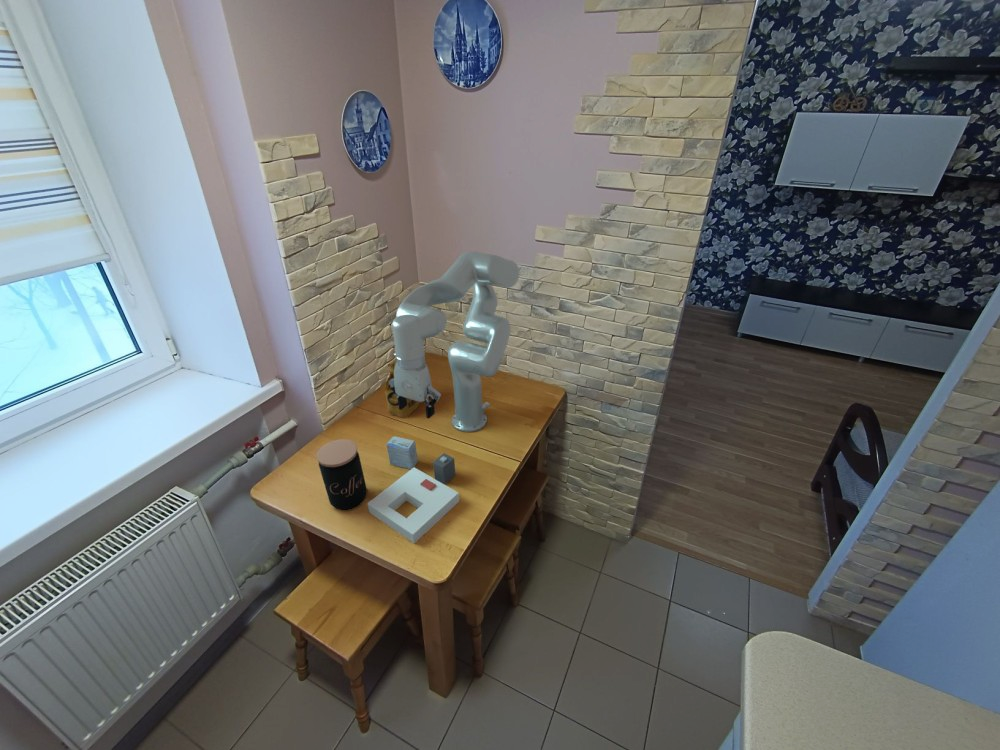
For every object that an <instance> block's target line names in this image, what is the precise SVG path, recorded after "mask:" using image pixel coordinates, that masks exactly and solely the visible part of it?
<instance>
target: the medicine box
mask: <svg viewBox="0 0 1000 750" xmlns="http://www.w3.org/2000/svg"><path fill="white" fill-rule="evenodd" d="M386 448H387V454H388V459H389V463H390V465H392V466H395V467H400V468H404V469H408V470H411V469H412V468H415V466H416V464H417V463H418V461H419V457H418V451H417V445H416V441H415V440H412V439H407V438H403V437H399V436H395V435H394V436H392V437H391V439H389V440H388V442H387V443H386Z"/></svg>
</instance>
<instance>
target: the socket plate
mask: <svg viewBox="0 0 1000 750" xmlns="http://www.w3.org/2000/svg"><path fill="white" fill-rule="evenodd" d="M459 495H460V494H459V492H458V491H456V490H454V489H453V488H451V487H449V486H447V485H446V484H445V485H444V484H442V483H441V482H439V481H437V480H435V477H434V478H433V477H432V476H430V475H428V474H427V473H425V472H423V471H421V470H420V469H418V468H416V467H413V468H412V469H409V470H408V471H407V472H406V473H405V474H403V475H402V476H401V477H400V478H398V479H397V480H395V481H394V482H393V483H391V485H389V486H388V487H387V488H385V489H384V490H383V491H381V492H380V493H379V494H377V495H376V496H375V497H373V498H372V499H371V500H370V501H368V502H367V503H366V504H367V509H368V512H369V513H370V514H371V515H372V516H374V517H376V518H377V519H378V520H380V521H381V522H383V523H384V524H385V525H387V526H388V527H390V528H391V529H393V530H394V531H395V532H397V533H399V534H400V535H401V536H403V537H404V538H406V539H407V540H408V541H410V542H411V543H413V544H415V543H417V542H418V541H419V540H420V539H421V538H422V537H423V536H425V534H426V533H427V532H429V531H430V529H432V528H433V527H434V526H435V525H436V524H437V523H438V522H439V521H440V520H441V519H442V518H444V516H445V515H446V514H448V513H449V512H450V511H451V510H452V509H453V508H454V507H455V506H456V505H457V504H458V503H460V496H459ZM405 502H408V503H409V504H411V505H413V506H414V507H415V508H417V509H416V510H414V511H413V512H412V513H411V514H409V516H408V517H407V518H406V517H405V516H404V515H402V514H401V513H399V512H398V511H396V510H397V509H398V508H399V507H401V506H402V505H403V504H404V503H405Z"/></svg>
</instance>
